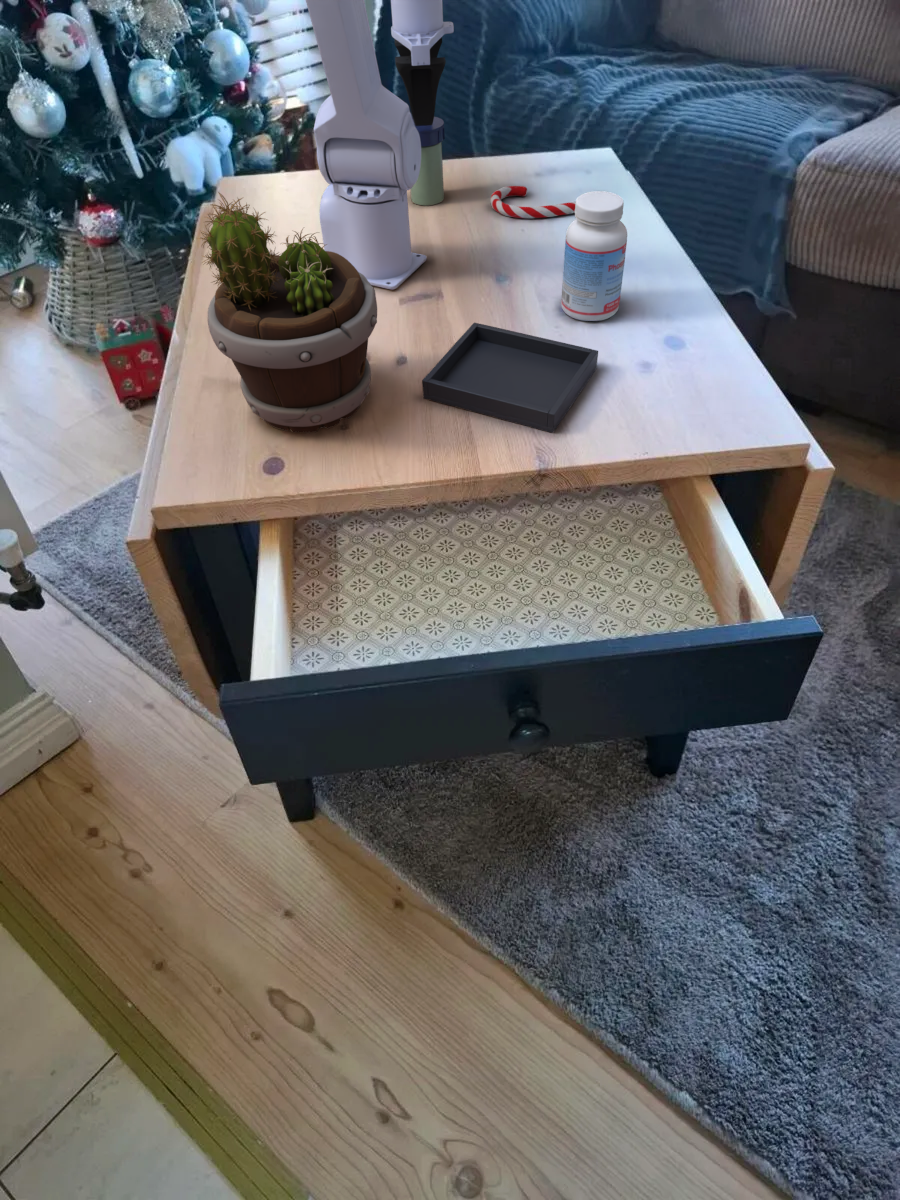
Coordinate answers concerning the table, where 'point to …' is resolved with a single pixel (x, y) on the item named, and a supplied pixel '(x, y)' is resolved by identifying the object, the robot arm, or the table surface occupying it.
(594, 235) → the pill bottle
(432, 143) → the jar lid
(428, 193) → the jar
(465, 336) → the tray
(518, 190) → the candy cane
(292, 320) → the flowerpot
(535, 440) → the table surface
